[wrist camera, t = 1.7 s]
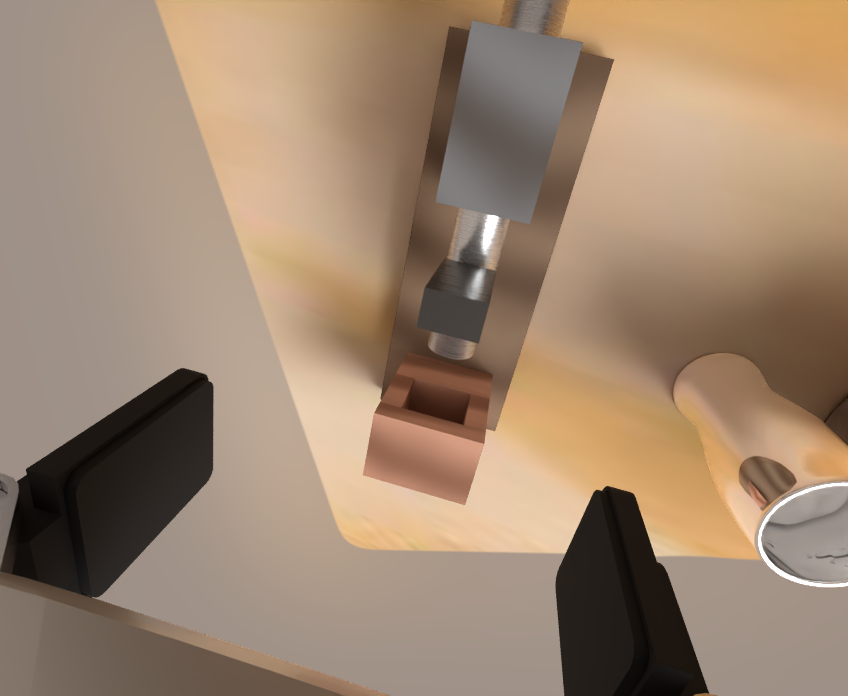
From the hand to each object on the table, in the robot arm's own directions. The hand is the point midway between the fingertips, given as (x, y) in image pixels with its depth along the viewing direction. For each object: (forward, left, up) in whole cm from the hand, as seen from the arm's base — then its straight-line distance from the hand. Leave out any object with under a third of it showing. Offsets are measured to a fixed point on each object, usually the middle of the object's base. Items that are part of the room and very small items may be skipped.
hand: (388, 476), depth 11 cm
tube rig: (0, 0, -26) cm, 26 cm away
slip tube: (-5, 0, -20) cm, 21 cm away
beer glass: (+6, +20, -27) cm, 34 cm away
